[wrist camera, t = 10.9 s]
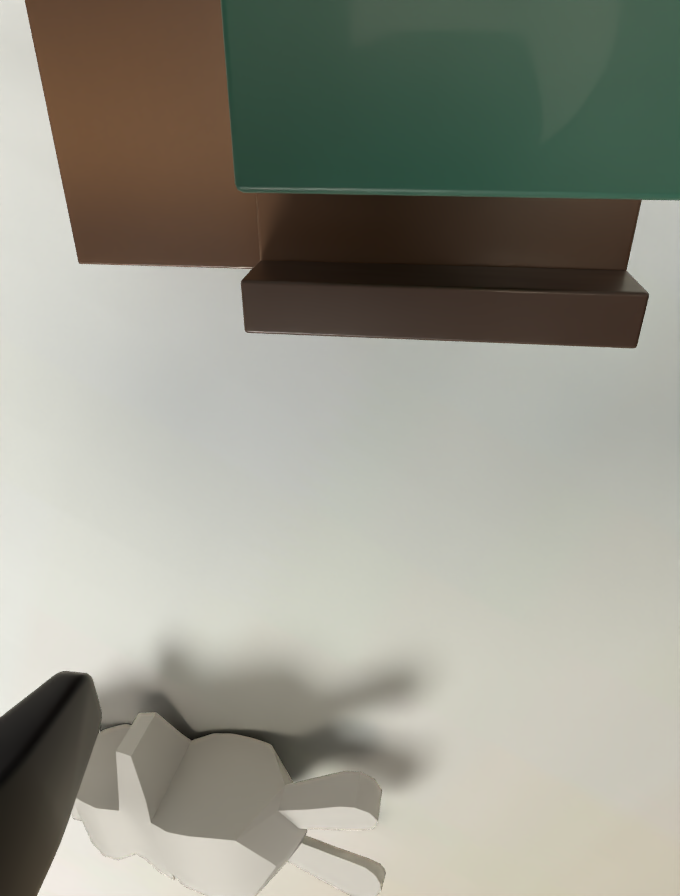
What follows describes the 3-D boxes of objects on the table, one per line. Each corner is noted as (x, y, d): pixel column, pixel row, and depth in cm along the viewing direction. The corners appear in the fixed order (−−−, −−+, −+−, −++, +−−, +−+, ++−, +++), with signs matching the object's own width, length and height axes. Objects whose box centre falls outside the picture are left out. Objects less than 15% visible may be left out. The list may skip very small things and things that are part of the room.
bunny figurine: (7, 762, 26) (365, 841, 23) (79, 665, 31) (390, 719, 27) (69, 885, 31) (374, 966, 28) (124, 786, 35) (394, 845, 32)
